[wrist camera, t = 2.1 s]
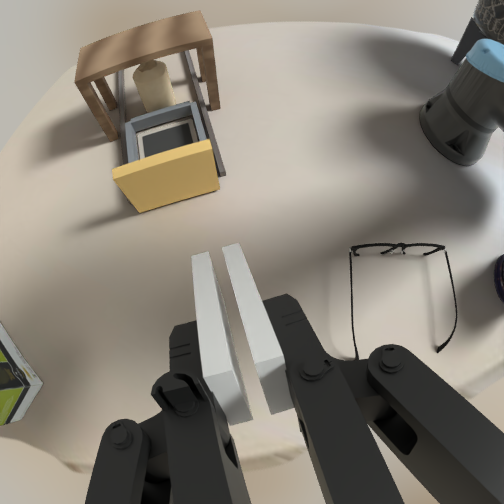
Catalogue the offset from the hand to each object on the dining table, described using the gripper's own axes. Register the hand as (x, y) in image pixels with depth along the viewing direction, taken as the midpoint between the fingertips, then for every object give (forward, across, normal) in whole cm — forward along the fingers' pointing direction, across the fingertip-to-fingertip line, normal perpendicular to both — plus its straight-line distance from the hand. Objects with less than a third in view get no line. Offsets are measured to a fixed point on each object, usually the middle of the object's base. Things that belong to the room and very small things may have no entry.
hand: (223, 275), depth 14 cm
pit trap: (+37, -4, 0) cm, 38 cm away
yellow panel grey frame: (+36, -4, 0) cm, 37 cm away
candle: (+46, -4, +8) cm, 46 cm away
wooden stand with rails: (+45, -4, +8) cm, 46 cm away
